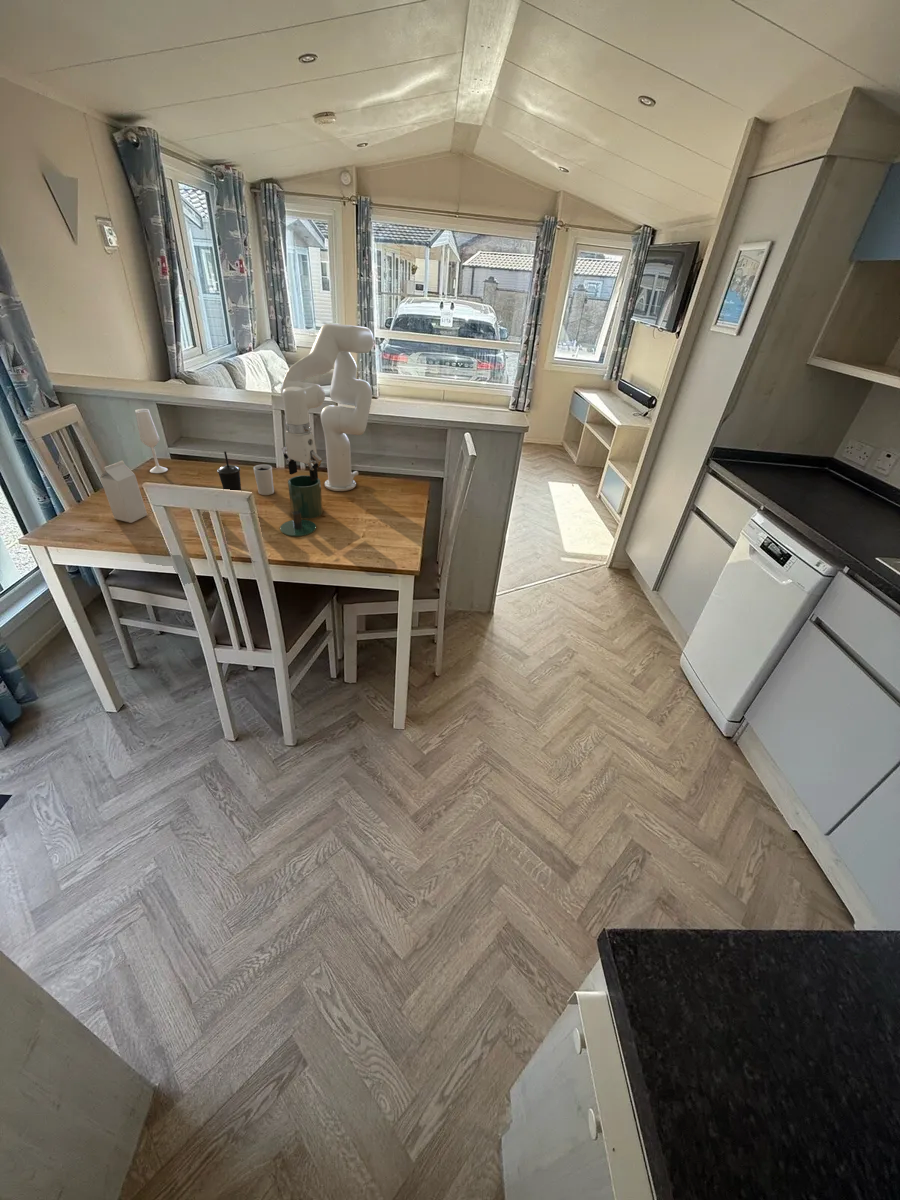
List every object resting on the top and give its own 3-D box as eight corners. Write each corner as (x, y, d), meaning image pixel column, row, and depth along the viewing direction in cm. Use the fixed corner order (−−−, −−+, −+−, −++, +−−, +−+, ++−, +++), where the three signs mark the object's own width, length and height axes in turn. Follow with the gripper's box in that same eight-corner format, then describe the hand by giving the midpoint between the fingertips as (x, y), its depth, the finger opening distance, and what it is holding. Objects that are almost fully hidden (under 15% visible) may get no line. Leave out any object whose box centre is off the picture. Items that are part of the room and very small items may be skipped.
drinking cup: (239, 510, 183) (229, 456, 171) (220, 507, 184) (208, 453, 172) (250, 502, 189) (241, 449, 178) (231, 499, 190) (221, 447, 179)
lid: (298, 519, 180) (295, 502, 177) (323, 528, 176) (322, 511, 172) (272, 531, 172) (270, 513, 168) (299, 541, 167) (296, 523, 163)
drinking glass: (253, 493, 196) (249, 468, 190) (265, 487, 201) (261, 463, 195) (267, 496, 194) (263, 471, 188) (278, 490, 199) (275, 466, 193)
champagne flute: (170, 467, 211) (154, 408, 198) (163, 473, 206) (147, 413, 192) (153, 466, 211) (137, 407, 197) (146, 472, 205) (129, 412, 192)
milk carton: (147, 515, 175) (131, 462, 164) (131, 523, 170) (112, 469, 159) (131, 511, 177) (114, 458, 166) (114, 519, 171) (95, 465, 160)
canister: (306, 504, 191) (303, 472, 183) (329, 512, 186) (326, 480, 179) (285, 514, 183) (280, 481, 175) (308, 522, 178) (304, 489, 171)
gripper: (326, 430, 166) (329, 479, 176) (287, 419, 173) (293, 467, 183) (310, 435, 161) (315, 486, 171) (270, 424, 167) (277, 473, 177)
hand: (303, 476), depth 177 cm, fingers open, 9 cm apart
